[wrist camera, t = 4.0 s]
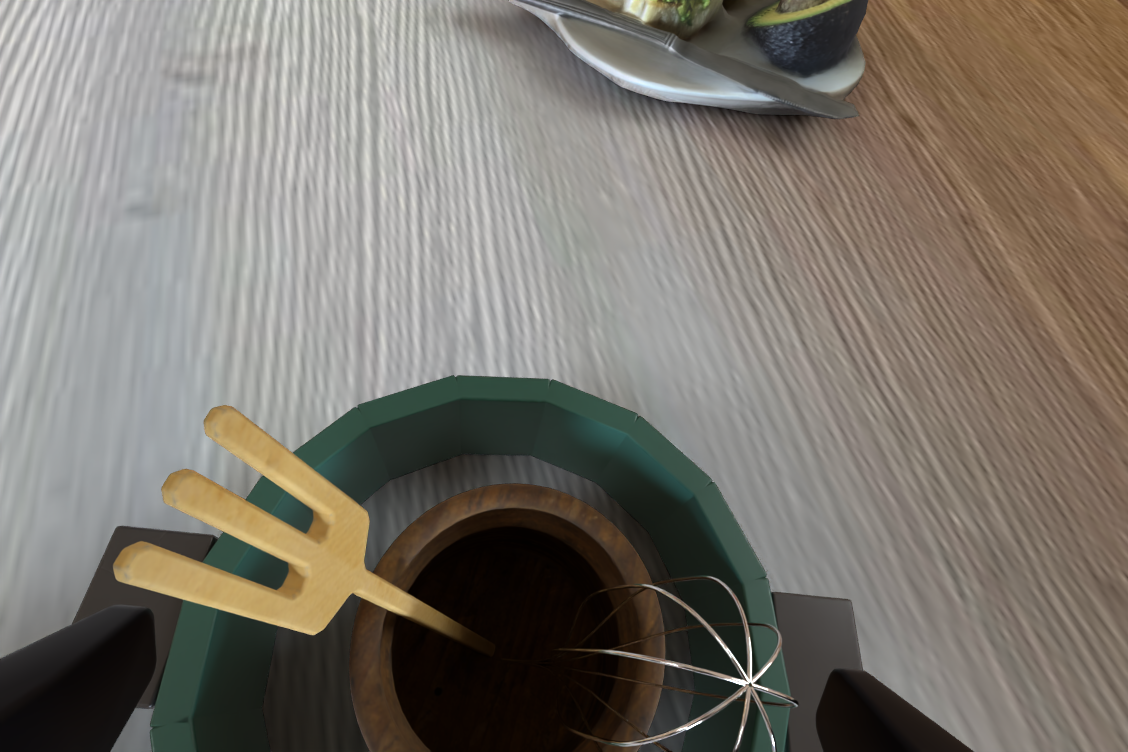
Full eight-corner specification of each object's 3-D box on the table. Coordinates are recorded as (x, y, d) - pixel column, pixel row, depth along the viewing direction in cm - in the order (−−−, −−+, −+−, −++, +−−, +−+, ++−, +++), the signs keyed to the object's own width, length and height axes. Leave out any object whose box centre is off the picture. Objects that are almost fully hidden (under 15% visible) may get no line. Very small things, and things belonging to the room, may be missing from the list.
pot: (514, 1225, 11) (536, 1496, 7) (98, 631, 14) (-26, 616, 10) (832, 667, 16) (932, 664, 13) (479, 340, 19) (481, 266, 16)
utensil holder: (580, 818, 14) (954, 1292, 3) (328, 747, 13) (-163, 988, 3) (625, 571, 16) (894, 386, 6) (418, 512, 16) (327, 219, 6)
